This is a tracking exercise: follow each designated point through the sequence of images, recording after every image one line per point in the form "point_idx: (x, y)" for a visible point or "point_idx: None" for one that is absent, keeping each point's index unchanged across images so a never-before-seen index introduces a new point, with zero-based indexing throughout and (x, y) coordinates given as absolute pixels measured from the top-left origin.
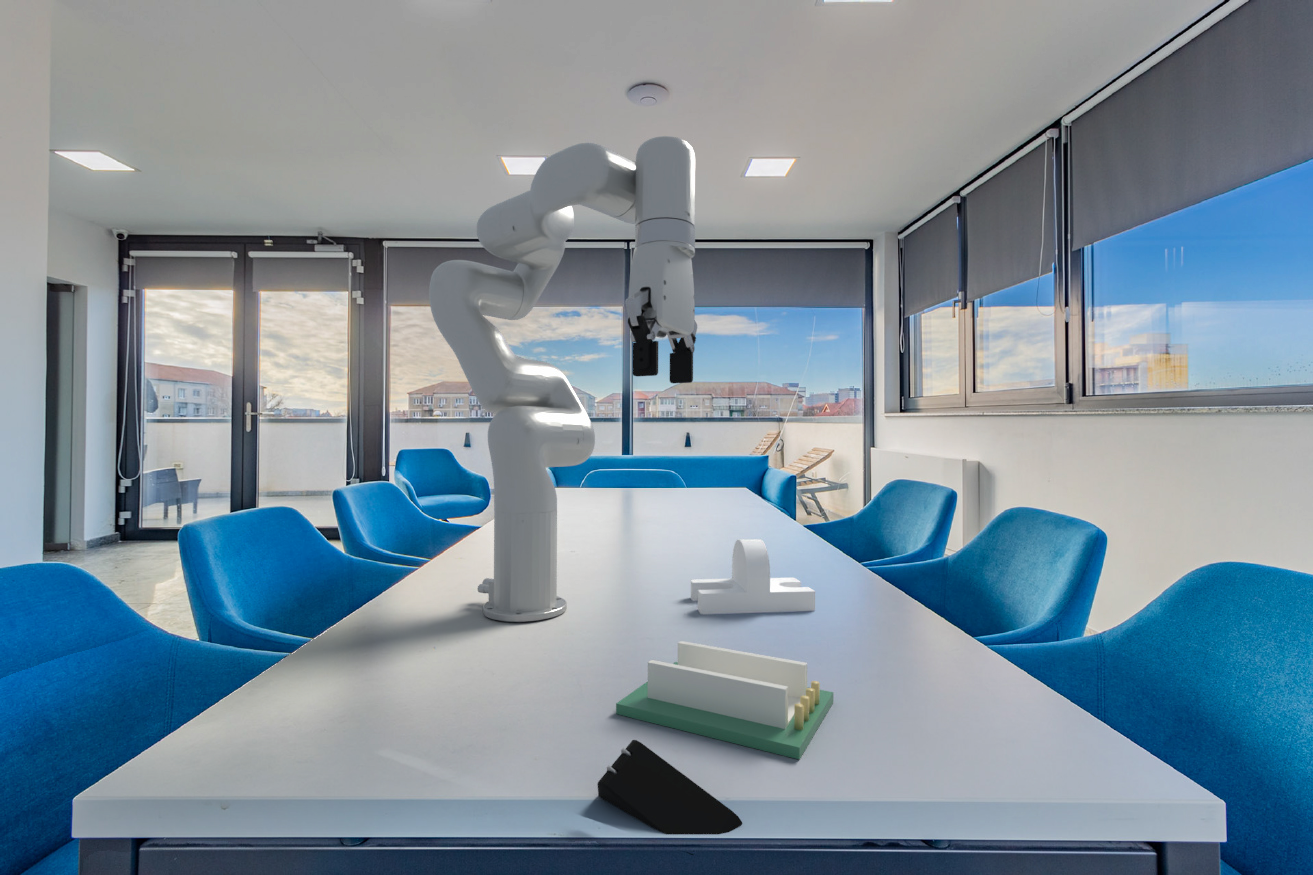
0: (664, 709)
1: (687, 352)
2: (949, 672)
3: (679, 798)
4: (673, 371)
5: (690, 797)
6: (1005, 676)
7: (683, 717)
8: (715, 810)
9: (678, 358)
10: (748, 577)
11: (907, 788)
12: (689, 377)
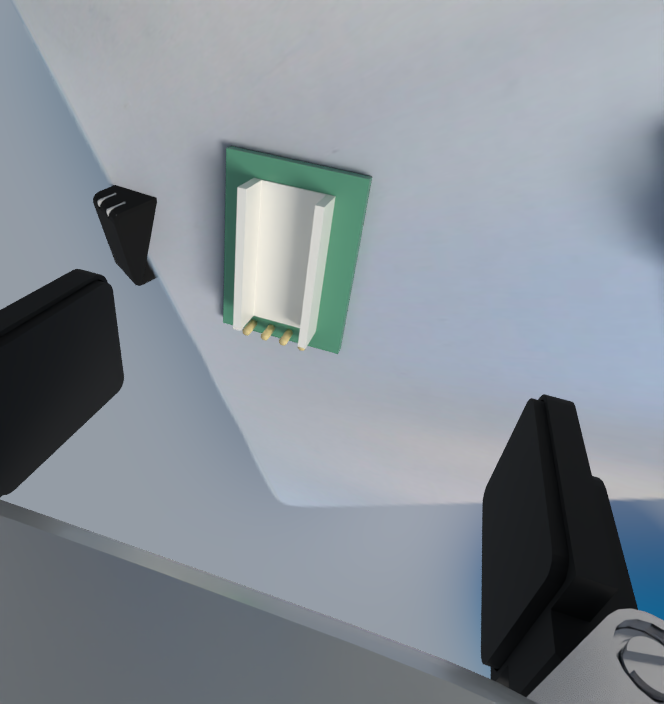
0: (235, 204)
1: (504, 667)
2: (452, 455)
3: (118, 251)
4: (525, 464)
5: (122, 258)
6: (454, 492)
7: (229, 226)
8: (128, 272)
9: (517, 575)
10: None
11: (224, 377)
12: (483, 509)
